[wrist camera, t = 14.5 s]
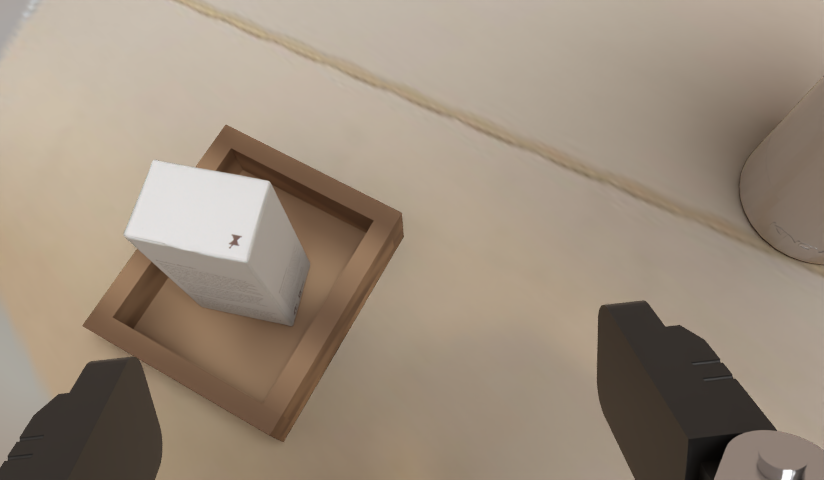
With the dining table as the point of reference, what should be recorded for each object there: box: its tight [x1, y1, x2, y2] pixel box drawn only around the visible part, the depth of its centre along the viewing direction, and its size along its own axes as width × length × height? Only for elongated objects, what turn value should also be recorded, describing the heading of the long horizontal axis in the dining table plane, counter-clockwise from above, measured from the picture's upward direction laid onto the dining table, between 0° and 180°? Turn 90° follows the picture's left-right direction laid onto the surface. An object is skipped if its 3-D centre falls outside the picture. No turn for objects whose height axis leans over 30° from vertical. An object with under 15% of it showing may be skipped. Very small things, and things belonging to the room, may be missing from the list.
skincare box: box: [124, 160, 310, 326], centre depth 39 cm, size 6×4×12 cm
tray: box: [82, 125, 404, 442], centre depth 43 cm, size 14×12×4 cm
